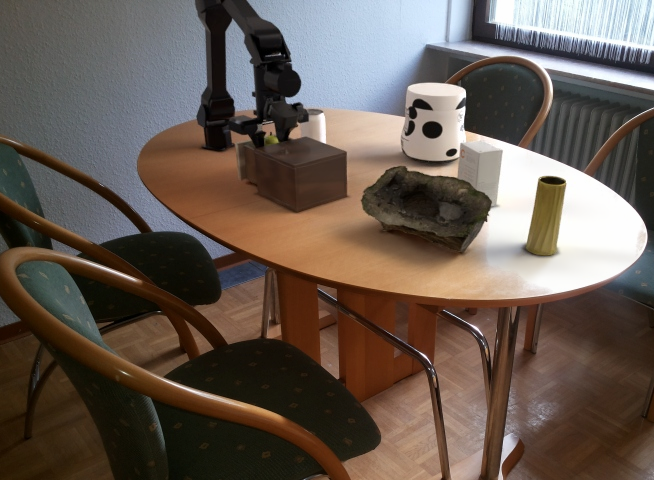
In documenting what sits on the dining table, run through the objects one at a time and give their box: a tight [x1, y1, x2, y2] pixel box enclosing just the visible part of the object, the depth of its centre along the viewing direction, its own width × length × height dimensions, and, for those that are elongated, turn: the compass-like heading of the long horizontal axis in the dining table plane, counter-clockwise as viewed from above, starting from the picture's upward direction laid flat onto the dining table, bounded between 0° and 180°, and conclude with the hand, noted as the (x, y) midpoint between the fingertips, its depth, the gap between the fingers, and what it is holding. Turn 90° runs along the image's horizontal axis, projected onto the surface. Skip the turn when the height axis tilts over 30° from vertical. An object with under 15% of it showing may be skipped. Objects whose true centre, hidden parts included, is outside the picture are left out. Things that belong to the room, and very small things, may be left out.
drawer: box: [234, 133, 294, 186], centre depth 152 cm, size 17×13×9 cm
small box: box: [456, 139, 504, 207], centre depth 144 cm, size 8×6×13 cm
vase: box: [525, 175, 568, 256], centre depth 124 cm, size 6×6×14 cm
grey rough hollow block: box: [360, 165, 492, 254], centre depth 127 cm, size 28×13×15 cm
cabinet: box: [254, 137, 348, 213], centre depth 145 cm, size 15×15×11 cm
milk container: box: [400, 82, 467, 164], centre depth 169 cm, size 17×17×18 cm
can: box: [299, 108, 327, 144], centre depth 168 cm, size 6×6×12 cm
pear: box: [264, 131, 279, 146], centre depth 150 cm, size 5×5×7 cm
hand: (272, 156), depth 151 cm, fingers closed on pear, 5 cm apart
